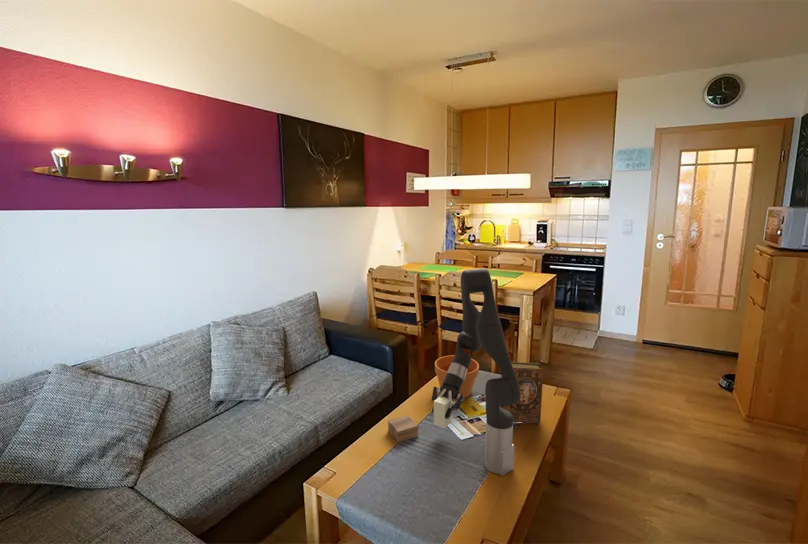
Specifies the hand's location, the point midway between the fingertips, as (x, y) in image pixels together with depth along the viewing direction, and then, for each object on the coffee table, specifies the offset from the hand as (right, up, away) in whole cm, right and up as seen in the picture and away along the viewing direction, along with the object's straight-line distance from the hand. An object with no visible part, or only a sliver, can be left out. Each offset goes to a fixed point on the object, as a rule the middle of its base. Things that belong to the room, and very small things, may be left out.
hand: (440, 415), depth 161 cm
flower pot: (+11, -2, +38) cm, 40 cm away
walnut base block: (-15, -9, +5) cm, 18 cm away
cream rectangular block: (+1, -4, +2) cm, 5 cm away
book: (+35, -7, +14) cm, 38 cm away
